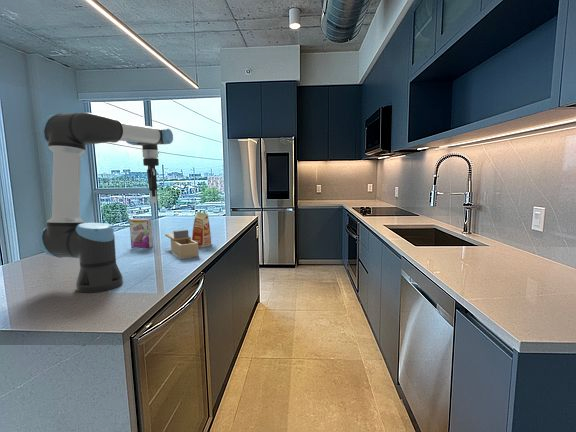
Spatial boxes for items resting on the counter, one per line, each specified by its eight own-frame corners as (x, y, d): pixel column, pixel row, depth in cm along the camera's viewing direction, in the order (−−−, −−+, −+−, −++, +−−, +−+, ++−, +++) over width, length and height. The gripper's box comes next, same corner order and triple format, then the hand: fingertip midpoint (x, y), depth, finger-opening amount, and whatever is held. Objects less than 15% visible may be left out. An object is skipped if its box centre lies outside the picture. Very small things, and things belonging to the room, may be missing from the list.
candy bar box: (130, 248, 185) (128, 219, 183) (135, 246, 190) (133, 218, 188) (149, 248, 184) (147, 219, 182) (153, 246, 189) (152, 218, 186)
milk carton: (191, 246, 187) (189, 212, 184) (200, 243, 195) (198, 210, 193) (205, 247, 184) (203, 212, 182) (213, 244, 193) (212, 210, 190)
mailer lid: (173, 240, 167) (173, 231, 167) (165, 235, 182) (164, 227, 182) (190, 238, 172) (190, 230, 172) (181, 233, 187) (181, 225, 187)
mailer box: (180, 259, 158) (179, 245, 158) (171, 252, 173) (170, 239, 172) (198, 256, 163) (198, 242, 162) (188, 249, 178) (187, 237, 177)
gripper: (161, 157, 168) (163, 203, 171) (155, 158, 179) (158, 201, 182) (145, 157, 164) (148, 203, 167) (140, 158, 175) (144, 202, 178)
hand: (153, 202), depth 174 cm, fingers closed
